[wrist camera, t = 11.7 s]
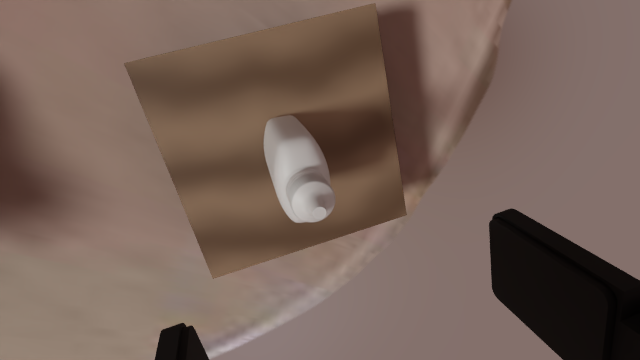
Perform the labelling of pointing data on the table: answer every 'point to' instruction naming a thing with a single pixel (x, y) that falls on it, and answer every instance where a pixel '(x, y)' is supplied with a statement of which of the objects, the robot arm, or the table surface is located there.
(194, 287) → the table surface
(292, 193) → the eye dropper bottle
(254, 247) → the walnut stool
